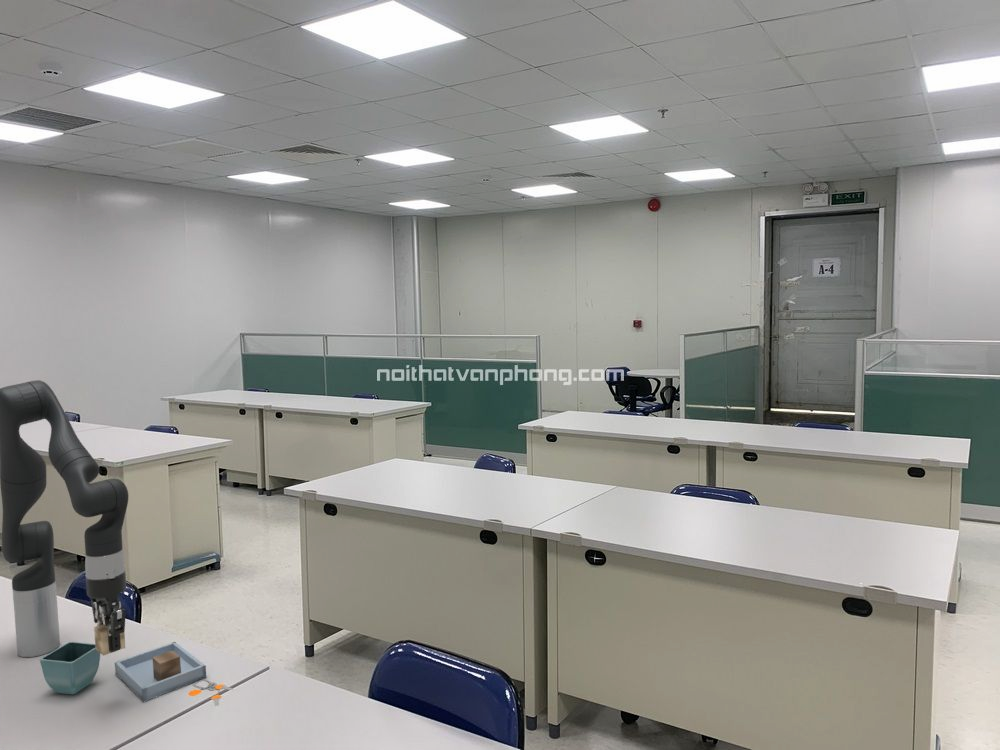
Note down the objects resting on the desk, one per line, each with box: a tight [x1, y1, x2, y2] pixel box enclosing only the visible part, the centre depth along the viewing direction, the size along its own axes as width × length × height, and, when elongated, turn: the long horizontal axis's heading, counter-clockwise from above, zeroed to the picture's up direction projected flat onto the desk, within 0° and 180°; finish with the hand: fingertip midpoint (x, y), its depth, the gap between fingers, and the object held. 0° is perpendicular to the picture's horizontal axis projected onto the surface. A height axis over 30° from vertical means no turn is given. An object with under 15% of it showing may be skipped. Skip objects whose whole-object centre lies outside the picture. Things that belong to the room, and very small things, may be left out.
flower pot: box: [39, 641, 101, 695], centre depth 160 cm, size 9×9×9 cm
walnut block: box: [153, 651, 181, 681], centre depth 162 cm, size 4×4×5 cm
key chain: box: [188, 678, 234, 707], centre depth 158 cm, size 13×7×1 cm, turn 58°
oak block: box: [93, 625, 126, 656], centre depth 152 cm, size 4×4×5 cm
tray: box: [114, 641, 207, 703], centre depth 165 cm, size 18×14×3 cm
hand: (110, 646), depth 153 cm, fingers closed on oak block, 4 cm apart
